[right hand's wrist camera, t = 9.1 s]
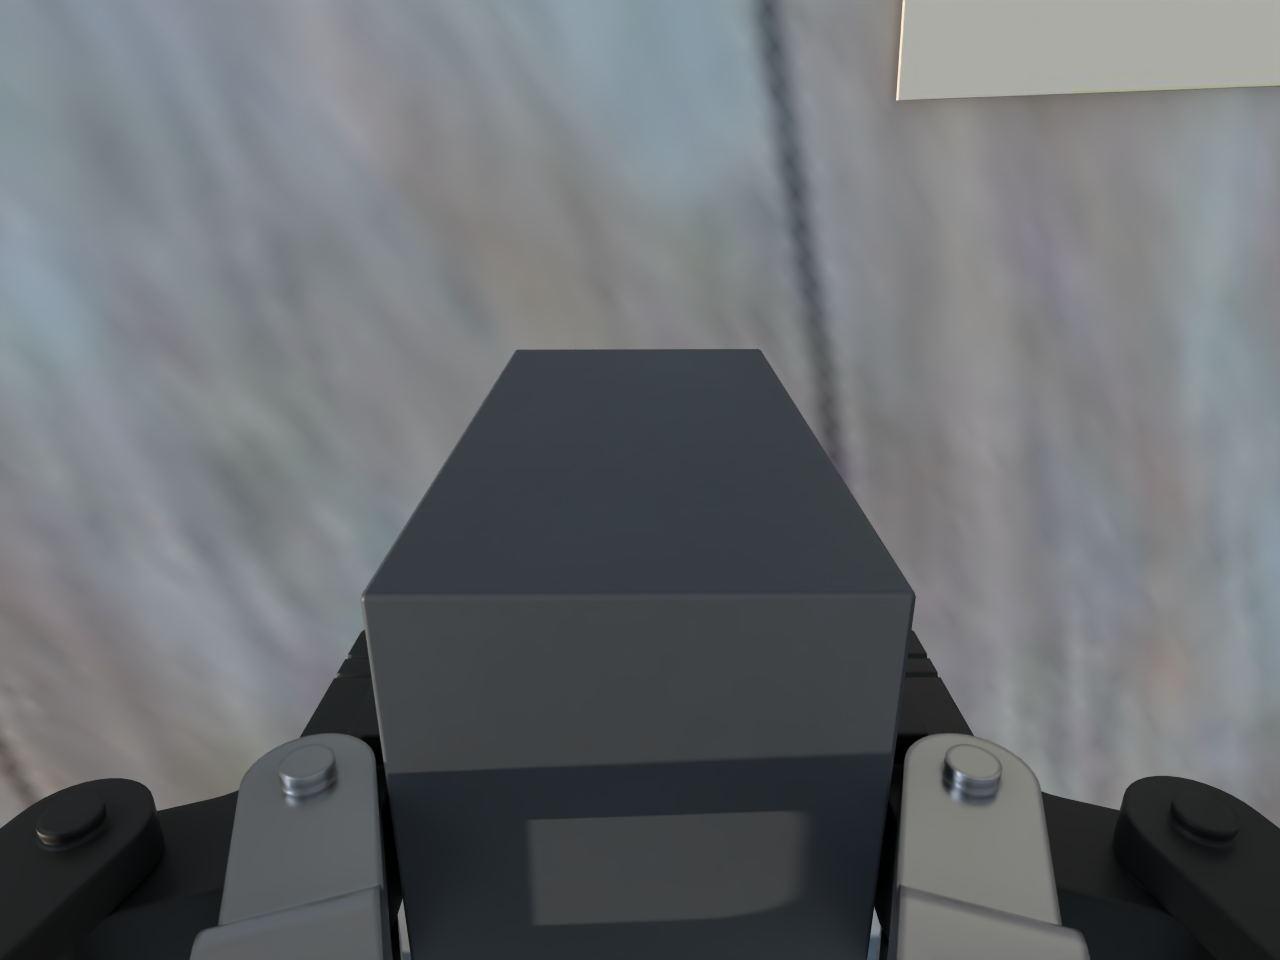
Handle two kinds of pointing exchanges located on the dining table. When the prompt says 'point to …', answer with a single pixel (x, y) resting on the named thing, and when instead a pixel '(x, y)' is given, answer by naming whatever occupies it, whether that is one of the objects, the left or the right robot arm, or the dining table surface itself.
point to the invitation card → (1084, 46)
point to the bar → (638, 673)
